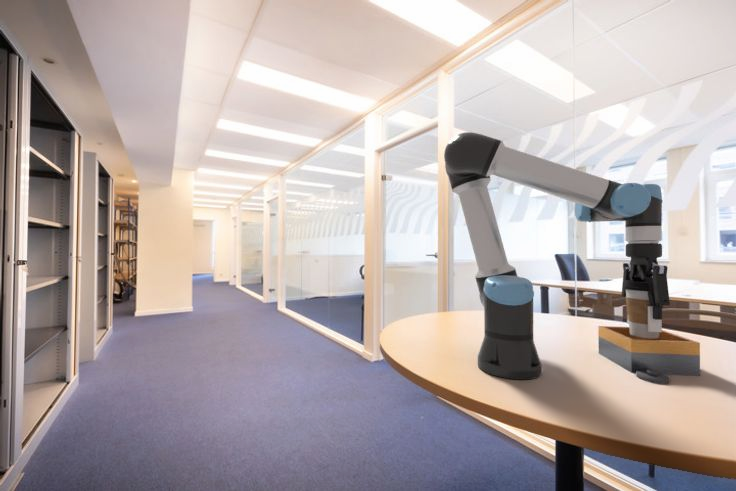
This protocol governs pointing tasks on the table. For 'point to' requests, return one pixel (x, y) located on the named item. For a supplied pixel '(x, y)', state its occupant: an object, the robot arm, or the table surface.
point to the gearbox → (650, 351)
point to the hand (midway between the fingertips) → (643, 327)
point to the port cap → (652, 376)
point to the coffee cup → (638, 309)
